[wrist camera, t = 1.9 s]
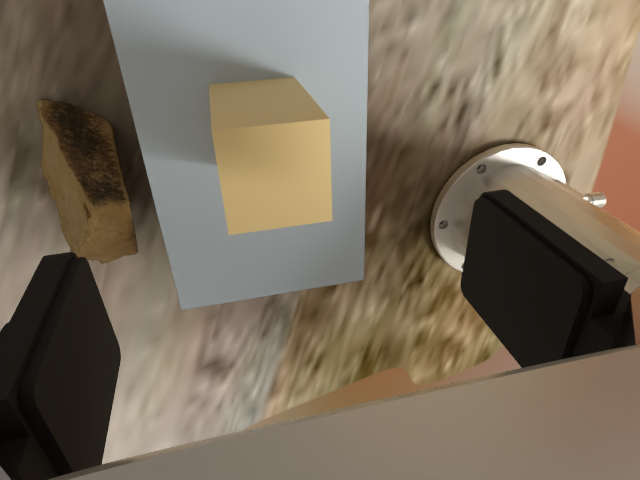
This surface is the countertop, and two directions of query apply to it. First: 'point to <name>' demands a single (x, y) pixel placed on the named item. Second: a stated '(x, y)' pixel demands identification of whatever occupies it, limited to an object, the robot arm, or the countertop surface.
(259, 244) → the lid
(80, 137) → the rock
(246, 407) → the countertop surface
